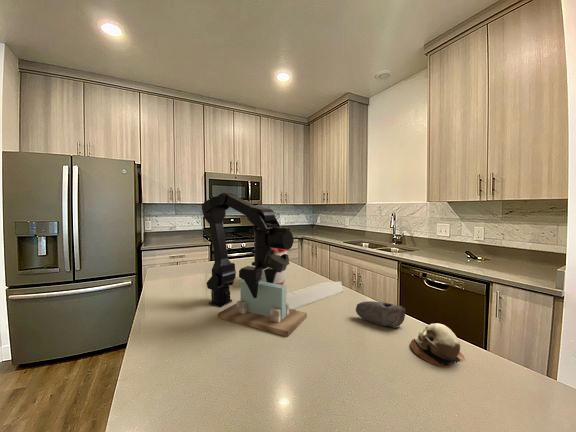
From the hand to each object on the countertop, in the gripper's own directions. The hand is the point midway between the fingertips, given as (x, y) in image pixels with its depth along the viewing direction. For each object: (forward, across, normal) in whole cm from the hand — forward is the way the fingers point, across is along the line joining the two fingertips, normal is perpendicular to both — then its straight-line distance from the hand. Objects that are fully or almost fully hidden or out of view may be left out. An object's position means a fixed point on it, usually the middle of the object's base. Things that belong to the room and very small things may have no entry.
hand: (262, 293), depth 81 cm
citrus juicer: (+8, +31, +16) cm, 36 cm away
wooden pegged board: (+8, 0, 0) cm, 8 cm away
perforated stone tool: (+8, +14, -35) cm, 38 cm away
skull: (+9, +4, -50) cm, 51 cm away
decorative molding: (+9, +23, -6) cm, 26 cm away
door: (+7, 0, 0) cm, 7 cm away
